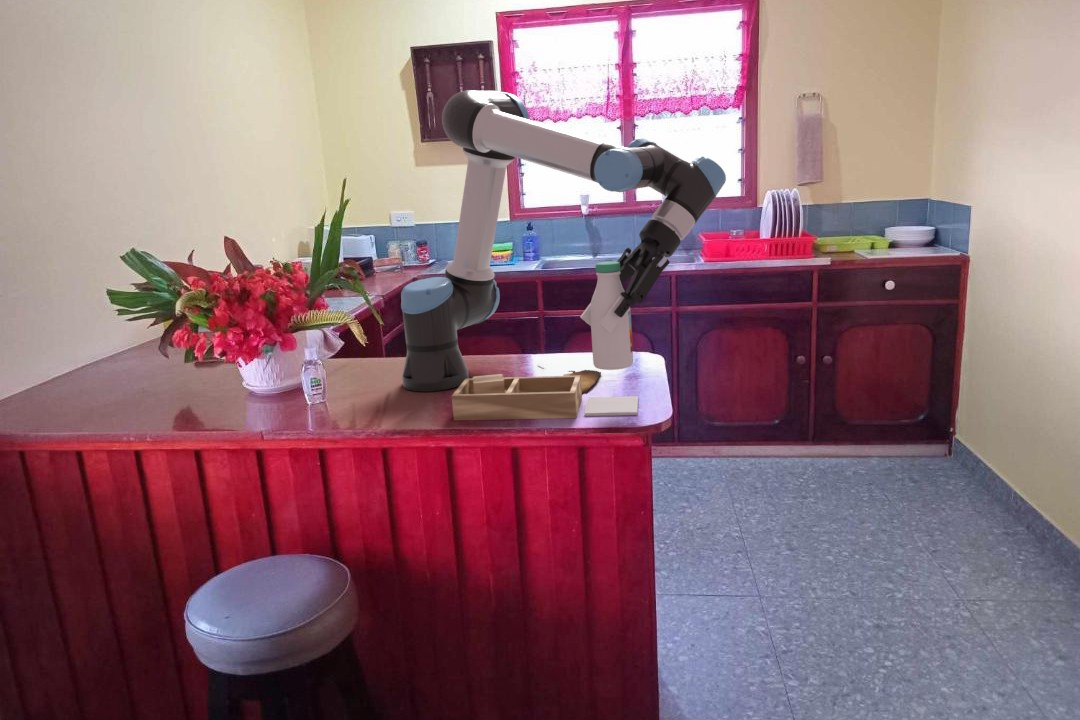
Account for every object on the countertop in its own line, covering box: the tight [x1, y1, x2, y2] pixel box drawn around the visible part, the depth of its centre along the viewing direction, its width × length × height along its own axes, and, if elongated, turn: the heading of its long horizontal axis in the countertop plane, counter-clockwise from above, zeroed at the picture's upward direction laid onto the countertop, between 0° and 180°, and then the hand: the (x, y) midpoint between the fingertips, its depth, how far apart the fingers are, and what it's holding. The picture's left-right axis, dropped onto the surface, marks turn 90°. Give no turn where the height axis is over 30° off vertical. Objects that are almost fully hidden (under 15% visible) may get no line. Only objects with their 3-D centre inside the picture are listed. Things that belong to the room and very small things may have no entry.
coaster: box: [584, 395, 639, 417], centre depth 154 cm, size 10×10×1 cm
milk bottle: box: [590, 261, 634, 371], centre depth 150 cm, size 8×8×20 cm
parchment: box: [562, 369, 602, 396], centre depth 170 cm, size 25×10×1 cm, turn 159°
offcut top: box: [472, 373, 505, 394], centre depth 157 cm, size 5×6×4 cm
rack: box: [451, 375, 583, 421], centre depth 157 cm, size 12×24×5 cm, turn 82°
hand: (594, 324), depth 149 cm, fingers closed on milk bottle, 8 cm apart
